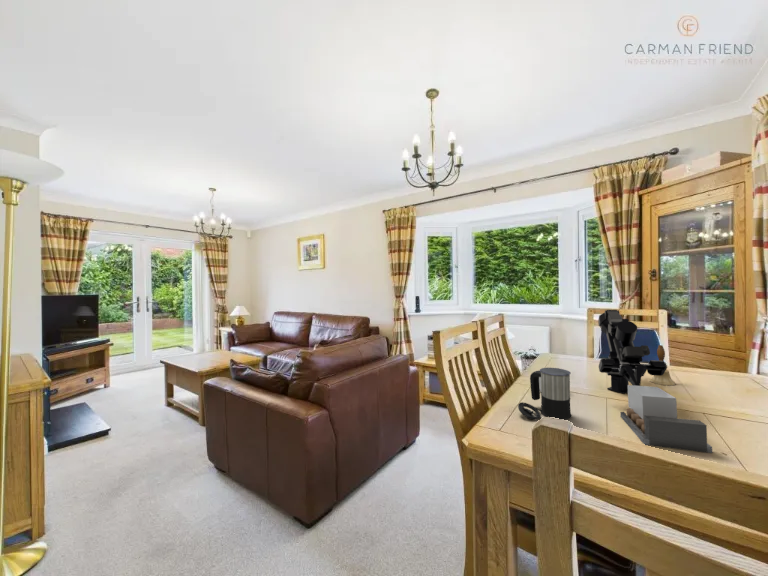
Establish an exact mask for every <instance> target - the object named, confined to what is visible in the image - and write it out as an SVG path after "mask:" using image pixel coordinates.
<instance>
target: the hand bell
mask: <svg viewBox="0 0 768 576" xmlns="http://www.w3.org/2000/svg"><path fill="white" fill-rule="evenodd" d="M656 355H657V358H658V361H664V362H665V357H666V351H665V349H664V346H663V345H661V344H658V347H657V349H656ZM649 382H651V383H652V384H655V385H660V386H675V385H676V384H677V383H676V382H675V381H674V380H673V379H672V377H671V375H670V371H669V370H668V369H666V371H665V372H664V374H663V375H661V376H656V375H653V377H652V378H650V379H649Z"/></svg>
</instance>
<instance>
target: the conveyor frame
mask: <svg viewBox="0 0 768 576" xmlns="http://www.w3.org/2000/svg"><path fill="white" fill-rule="evenodd" d="M620 418H621V419H622V420H623V422H624V423H625V424H626V425H627V426H628V427H629V429H630V430H631V431H632V432H633V433H634V434H635V436H637V438H638V439H639V440H640V441H641V443H642V444H643V445H644V444H645V445H644V446H649V447H657V448H665V449H675V450H683V451H691V452H701V453H707V454H713V446H711V444H709V443H708V436H707V435H708V433H707V429H708V428H707V424H705V422H703V421H701V419H700V420H699V419H697V420H696V419H689V418H688V419H687V418H678V417H677V418H667V417H656V416H646V415H644V430H645V435H644V434H643V432H642V430H640V429H639V428H638V427H637V425H636V424H634V423H633V422H632V419H630V418H629V417H628V416H627V413H626V412H624V411H620Z"/></svg>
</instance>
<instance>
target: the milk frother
mask: <svg viewBox="0 0 768 576" xmlns="http://www.w3.org/2000/svg"><path fill="white" fill-rule="evenodd" d="M570 375H571V371H569V370H567V369H564V368H559V367H542V368H540V369H539V370H535V371H533V372H531V374H530V375H529V376H530V377H529V382H530V393H531V399H532V400H534V401H538V400H539V399H540V400H541V403H540V404H541V405H540V408H537V407H536V406H534V405H532V404H529V403H527V402H519V403H518V405H517V407H518V410H519V412H520V413H521V414H522V415H523V416H524V417H526V418H527V419H531V420H538V419H540V418H541V416H542V415H543V416H545V417H547V416H549V417H548V418H550V417H555V418H559V419H558V420H569V419H571V418H572V415H573V414H572V413H571V412H572V411H571V410H572V409H571V381H570V380H571V376H570ZM539 377H541V392H540V389H539ZM534 413H535V414H536V415H535V414H534ZM541 414H542V415H541Z"/></svg>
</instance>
